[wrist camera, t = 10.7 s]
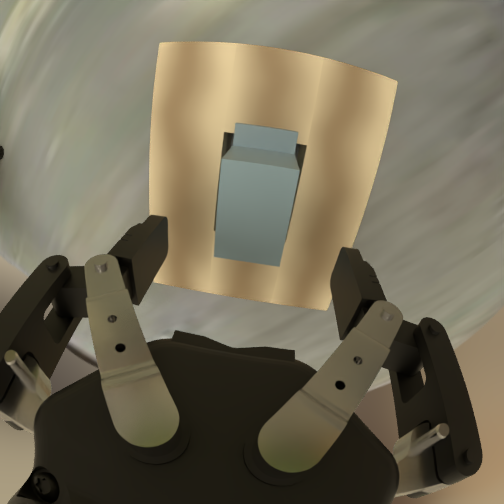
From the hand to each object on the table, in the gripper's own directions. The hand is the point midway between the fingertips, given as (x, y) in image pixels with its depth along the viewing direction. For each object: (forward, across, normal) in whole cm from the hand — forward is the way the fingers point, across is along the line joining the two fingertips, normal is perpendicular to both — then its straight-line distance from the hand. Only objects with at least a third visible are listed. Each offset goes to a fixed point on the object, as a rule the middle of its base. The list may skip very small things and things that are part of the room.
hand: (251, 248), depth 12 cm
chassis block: (+12, 0, 0) cm, 12 cm away
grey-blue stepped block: (+11, 0, 0) cm, 11 cm away
